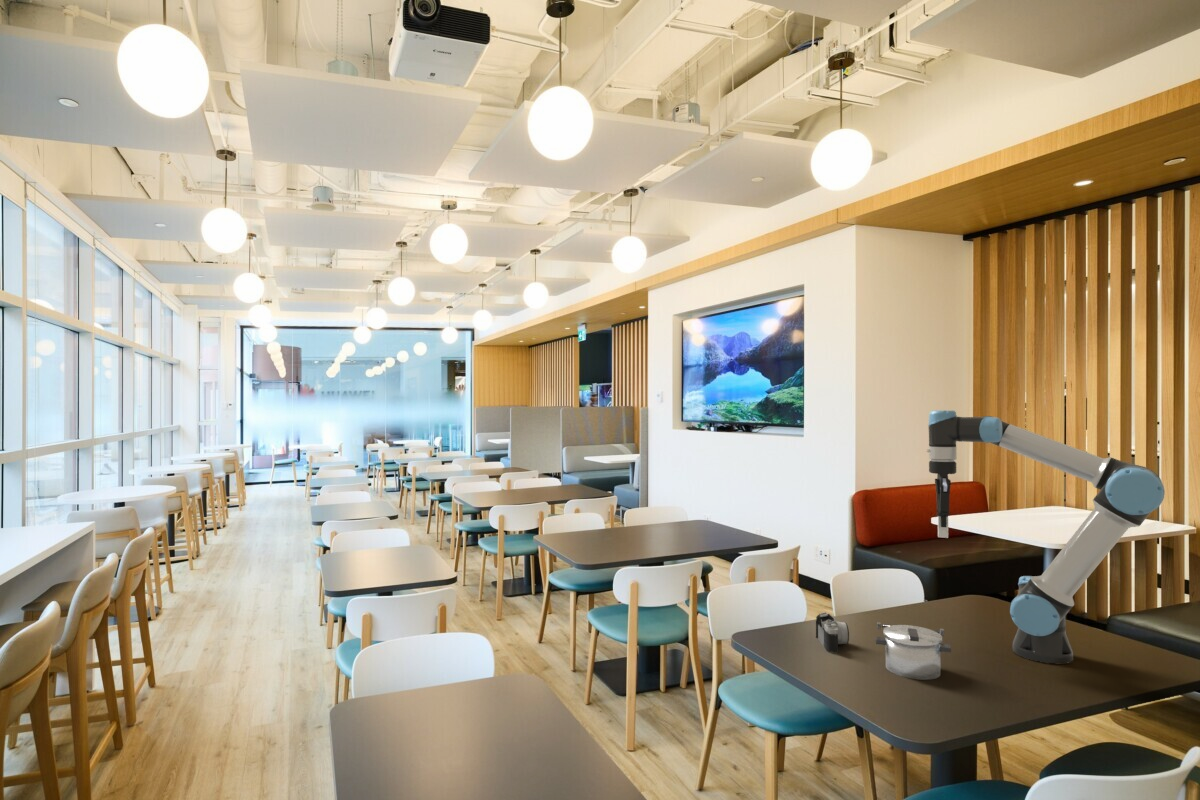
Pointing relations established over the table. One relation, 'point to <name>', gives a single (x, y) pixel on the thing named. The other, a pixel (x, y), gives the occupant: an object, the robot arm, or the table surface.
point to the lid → (912, 635)
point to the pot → (913, 658)
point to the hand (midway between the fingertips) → (943, 537)
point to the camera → (831, 632)
